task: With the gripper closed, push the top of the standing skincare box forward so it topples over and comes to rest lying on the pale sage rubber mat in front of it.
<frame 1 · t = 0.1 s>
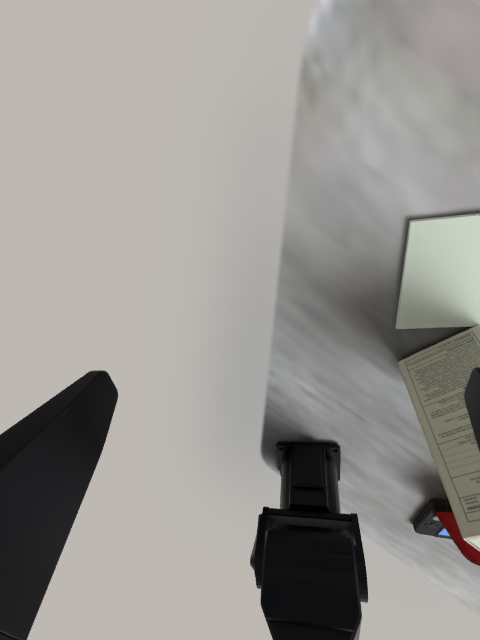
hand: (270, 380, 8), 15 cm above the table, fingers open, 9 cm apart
mat: (469, 274, 21), on the table
skincare box: (447, 355, 25), on the table, touching mat
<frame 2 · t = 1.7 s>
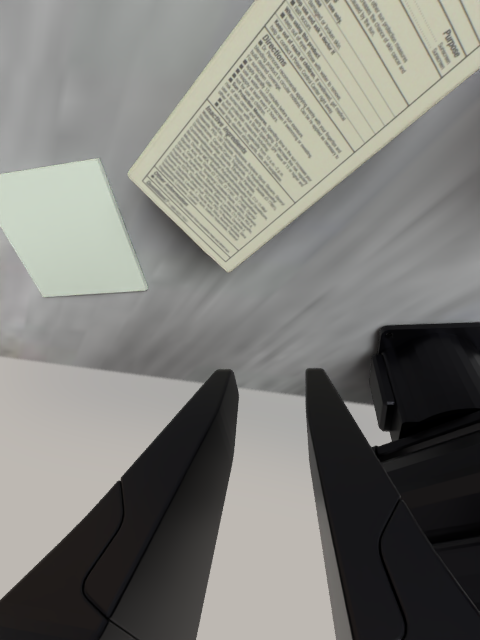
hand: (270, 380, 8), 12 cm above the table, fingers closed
mat: (68, 236, 21), on the table
skincare box: (186, 215, 16), point 2 cm above the table
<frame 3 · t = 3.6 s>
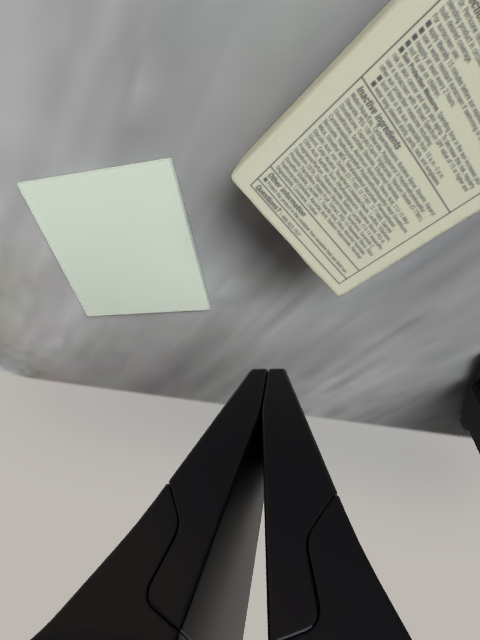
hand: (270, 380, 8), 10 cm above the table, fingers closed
mat: (123, 249, 18), on the table
skincare box: (282, 225, 13), point 2 cm above the table
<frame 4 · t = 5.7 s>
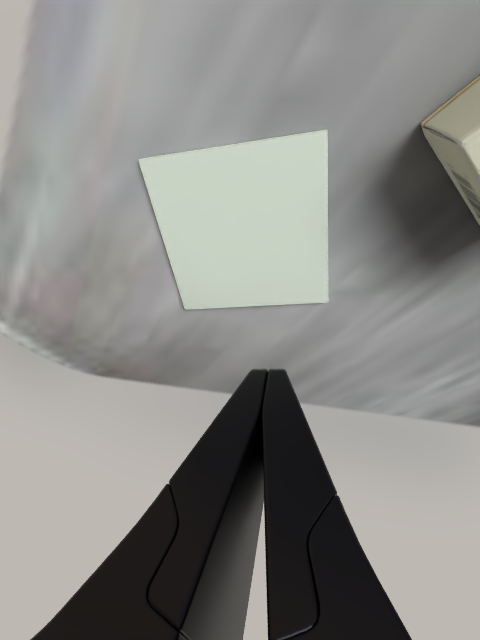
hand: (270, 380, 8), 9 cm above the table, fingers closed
mat: (242, 235, 16), on the table
skincare box: (467, 205, 12), point 2 cm above the table
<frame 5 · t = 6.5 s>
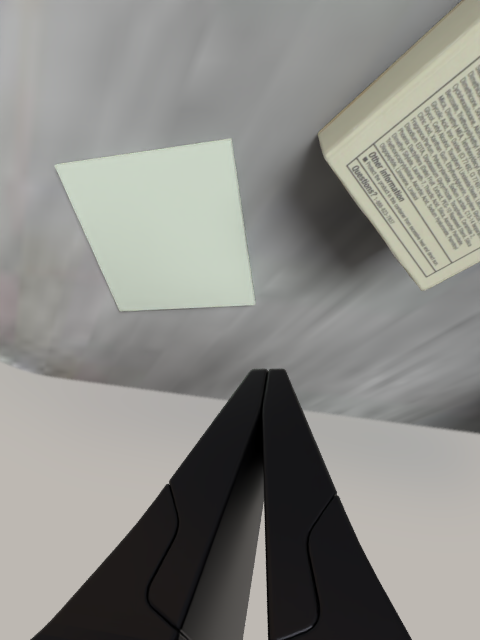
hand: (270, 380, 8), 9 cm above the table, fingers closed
mat: (166, 239, 17), on the table
skincare box: (358, 213, 12), point 2 cm above the table
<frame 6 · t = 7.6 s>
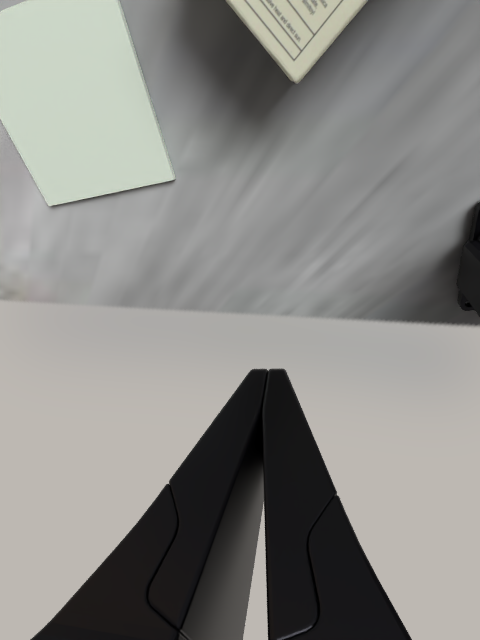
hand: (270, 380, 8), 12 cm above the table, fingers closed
mat: (75, 110, 16), on the table
skincare box: (231, 19, 12), point 2 cm above the table
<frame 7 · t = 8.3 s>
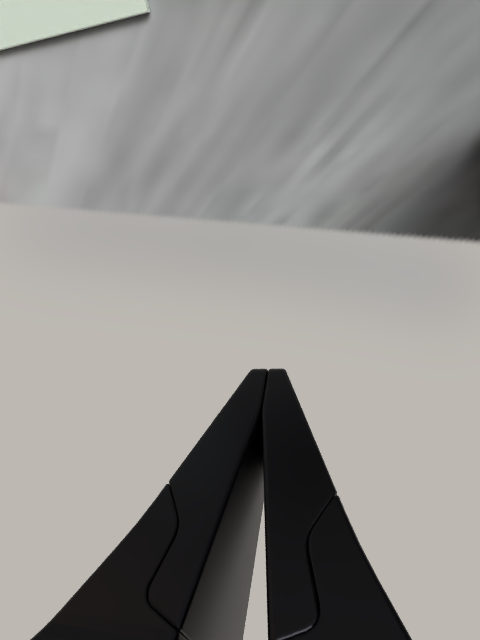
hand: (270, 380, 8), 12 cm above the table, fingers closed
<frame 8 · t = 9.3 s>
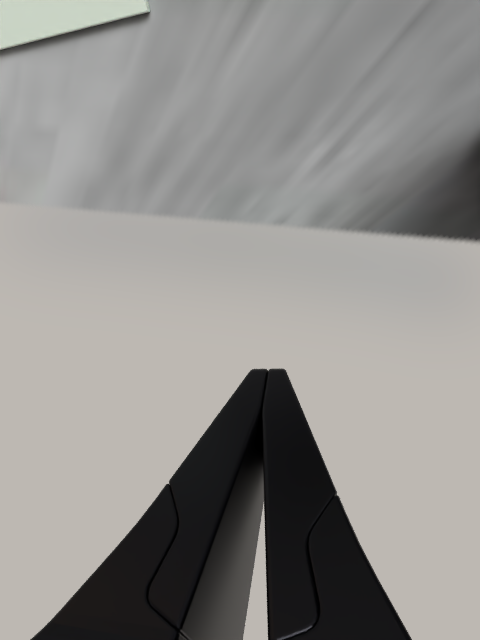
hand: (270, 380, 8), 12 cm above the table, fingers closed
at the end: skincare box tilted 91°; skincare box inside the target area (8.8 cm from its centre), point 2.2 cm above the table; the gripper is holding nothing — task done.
